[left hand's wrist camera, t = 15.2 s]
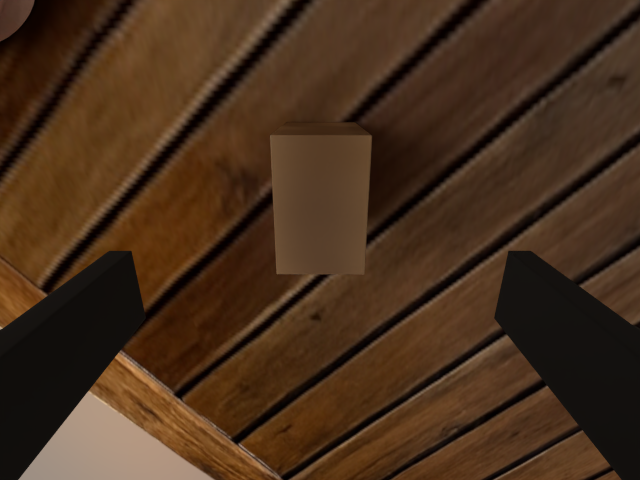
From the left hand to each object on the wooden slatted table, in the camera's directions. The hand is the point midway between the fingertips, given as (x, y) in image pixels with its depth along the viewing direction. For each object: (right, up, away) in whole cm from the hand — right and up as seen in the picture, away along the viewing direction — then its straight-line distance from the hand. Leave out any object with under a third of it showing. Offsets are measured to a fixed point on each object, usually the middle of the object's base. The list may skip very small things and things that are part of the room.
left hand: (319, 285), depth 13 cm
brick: (0, +7, +17) cm, 18 cm away
